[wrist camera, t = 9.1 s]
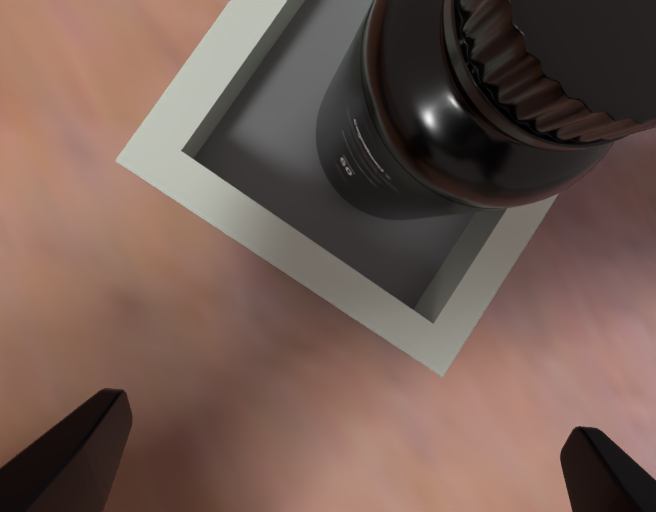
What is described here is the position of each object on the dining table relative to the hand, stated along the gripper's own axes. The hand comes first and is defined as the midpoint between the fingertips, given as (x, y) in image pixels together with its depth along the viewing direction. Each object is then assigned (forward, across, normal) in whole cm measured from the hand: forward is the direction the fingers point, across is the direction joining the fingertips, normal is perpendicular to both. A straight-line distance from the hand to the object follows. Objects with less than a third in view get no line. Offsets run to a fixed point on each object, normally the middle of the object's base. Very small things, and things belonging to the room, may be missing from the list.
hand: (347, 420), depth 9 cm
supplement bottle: (+13, -2, -2) cm, 13 cm away
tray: (+13, -1, -2) cm, 13 cm away
